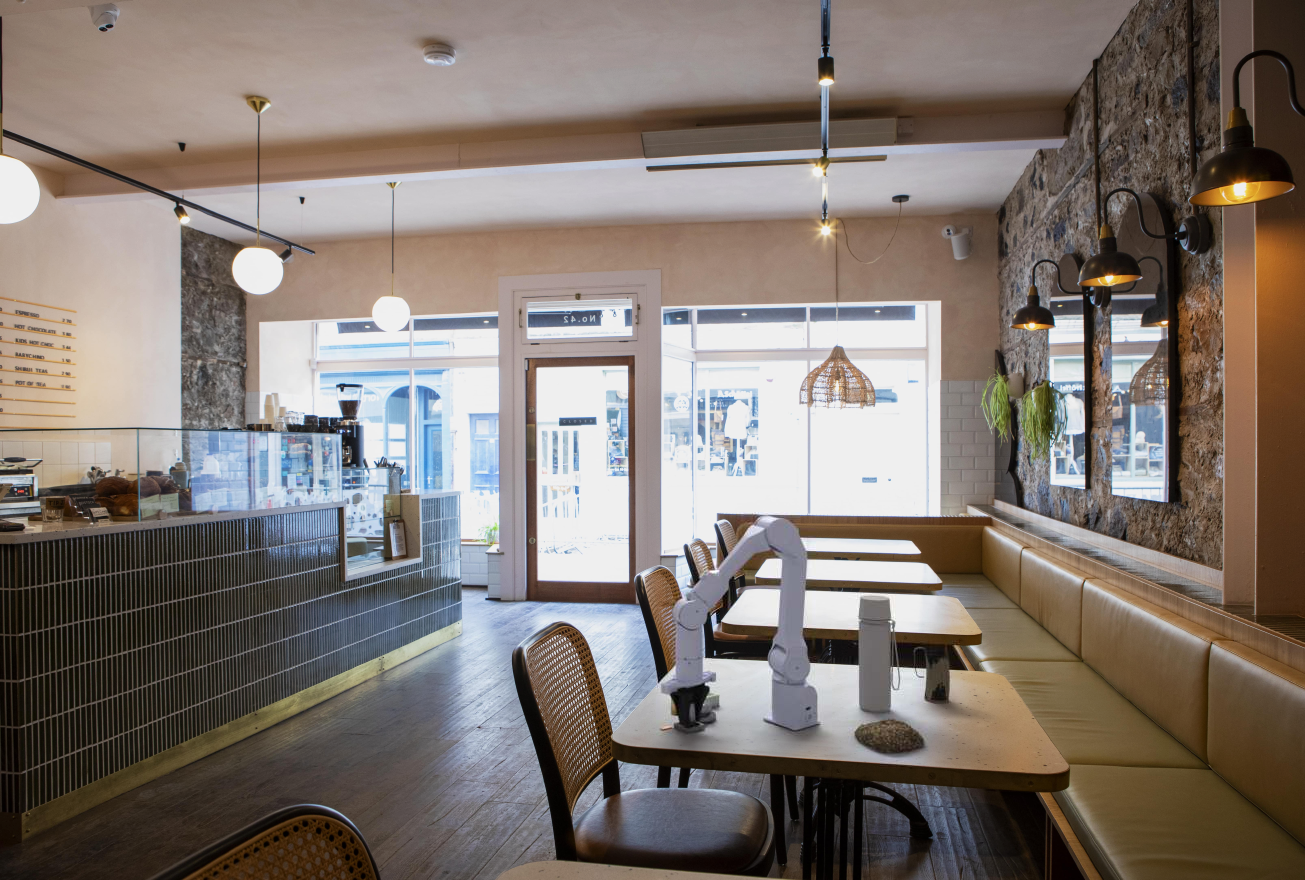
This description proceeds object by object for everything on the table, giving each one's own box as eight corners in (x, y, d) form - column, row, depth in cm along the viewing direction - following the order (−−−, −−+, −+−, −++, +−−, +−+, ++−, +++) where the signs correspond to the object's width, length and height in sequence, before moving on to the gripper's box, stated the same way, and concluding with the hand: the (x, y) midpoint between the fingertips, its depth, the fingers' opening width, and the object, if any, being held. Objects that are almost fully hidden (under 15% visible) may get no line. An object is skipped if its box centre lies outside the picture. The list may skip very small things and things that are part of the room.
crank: (700, 707, 187) (700, 682, 187) (716, 712, 183) (716, 687, 183) (664, 717, 180) (664, 691, 180) (680, 723, 176) (680, 696, 176)
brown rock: (878, 757, 161) (878, 731, 161) (846, 736, 173) (846, 711, 173) (936, 751, 164) (936, 725, 164) (902, 730, 176) (901, 706, 176)
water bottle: (854, 711, 188) (853, 599, 189) (862, 701, 195) (862, 593, 196) (896, 717, 184) (895, 602, 184) (903, 707, 191) (903, 596, 191)
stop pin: (698, 728, 176) (697, 702, 176) (688, 731, 175) (688, 704, 175) (689, 725, 178) (689, 699, 178) (680, 728, 177) (680, 701, 177)
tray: (719, 705, 192) (719, 694, 193) (694, 711, 188) (694, 700, 188) (697, 698, 198) (697, 687, 198) (673, 703, 194) (673, 693, 194)
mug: (948, 697, 199) (948, 646, 199) (951, 704, 194) (951, 651, 194) (913, 695, 201) (913, 644, 201) (915, 701, 196) (914, 649, 196)
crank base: (730, 722, 181) (730, 717, 181) (678, 736, 172) (678, 731, 172) (701, 711, 188) (701, 707, 188) (650, 724, 179) (650, 720, 179)
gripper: (699, 647, 185) (699, 710, 184) (650, 659, 175) (650, 724, 175) (723, 653, 179) (723, 717, 179) (674, 665, 170) (674, 733, 169)
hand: (689, 721), depth 177 cm, fingers closed on stop pin, 3 cm apart
